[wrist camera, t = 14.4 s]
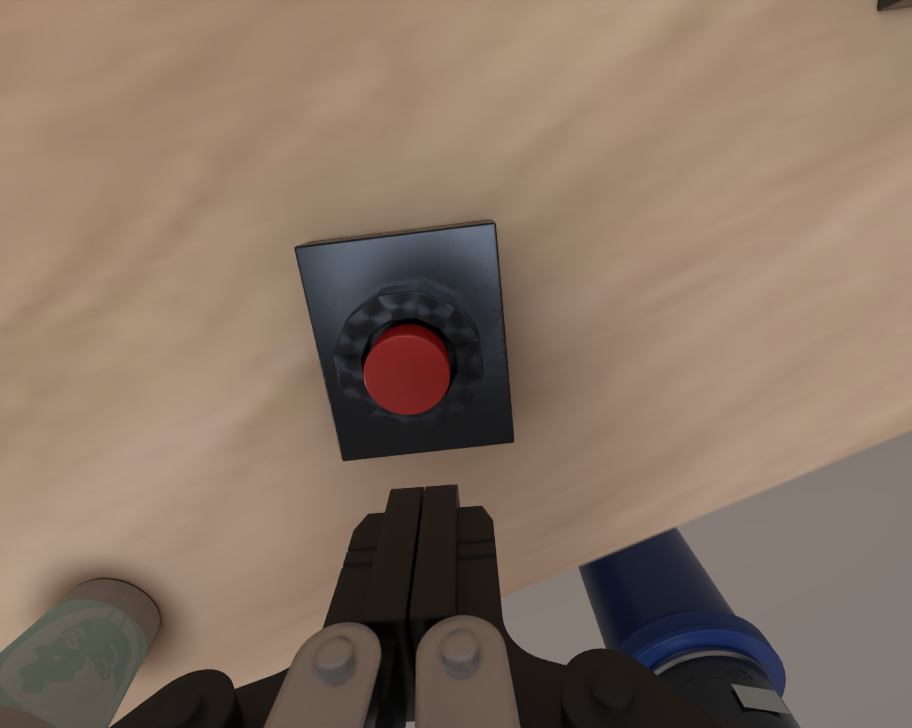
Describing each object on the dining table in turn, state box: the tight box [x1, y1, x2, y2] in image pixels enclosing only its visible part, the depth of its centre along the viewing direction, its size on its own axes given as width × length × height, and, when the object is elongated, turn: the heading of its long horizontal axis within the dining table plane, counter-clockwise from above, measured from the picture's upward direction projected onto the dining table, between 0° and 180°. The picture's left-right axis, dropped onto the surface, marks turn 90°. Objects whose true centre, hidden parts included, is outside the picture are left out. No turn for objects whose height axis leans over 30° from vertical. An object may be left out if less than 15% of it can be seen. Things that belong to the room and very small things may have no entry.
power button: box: [364, 324, 450, 415], centre depth 21 cm, size 4×4×2 cm
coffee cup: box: [0, 579, 160, 728], centre depth 25 cm, size 8×8×12 cm
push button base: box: [295, 220, 514, 461], centre depth 23 cm, size 11×9×4 cm
